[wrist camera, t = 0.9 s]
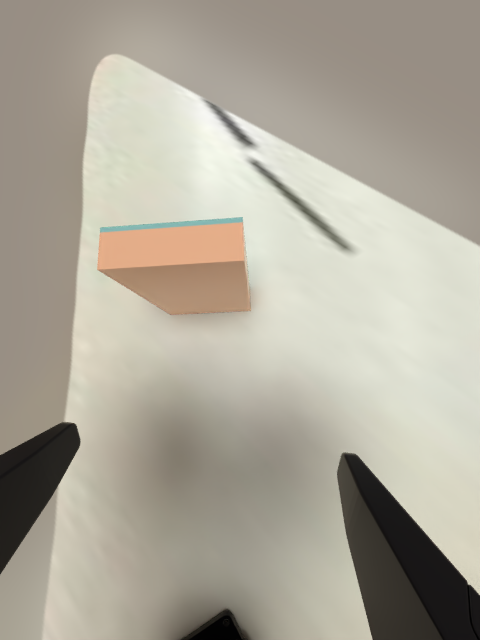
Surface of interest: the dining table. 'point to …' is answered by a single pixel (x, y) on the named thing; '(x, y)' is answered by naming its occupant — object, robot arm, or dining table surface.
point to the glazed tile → (180, 264)
